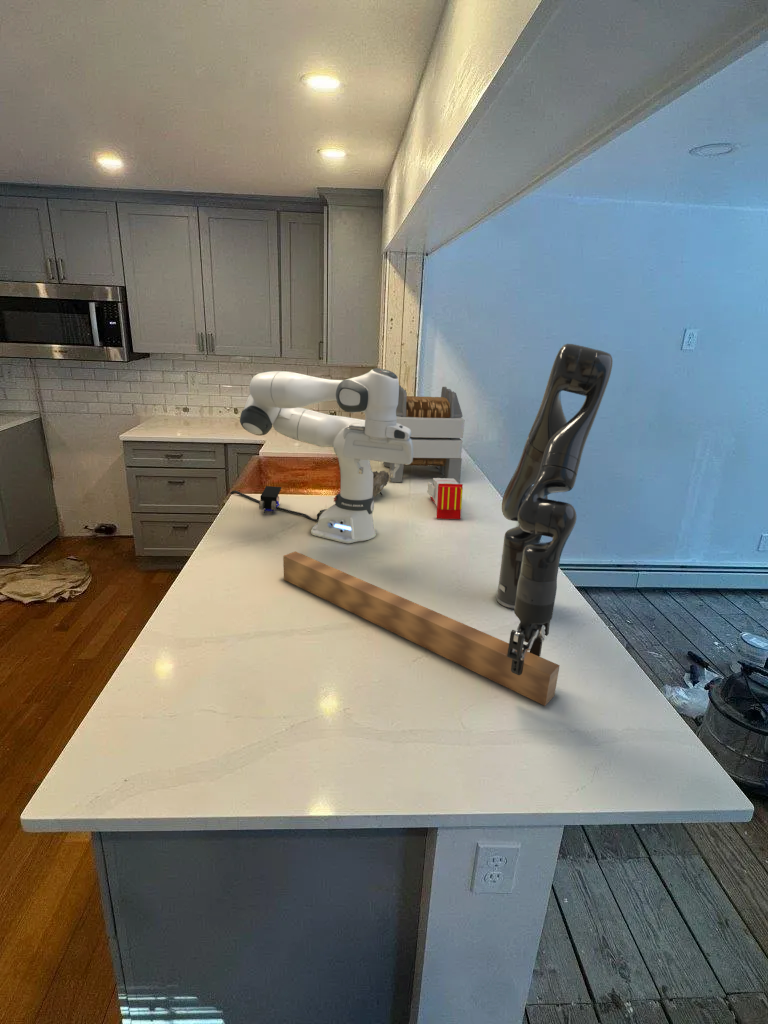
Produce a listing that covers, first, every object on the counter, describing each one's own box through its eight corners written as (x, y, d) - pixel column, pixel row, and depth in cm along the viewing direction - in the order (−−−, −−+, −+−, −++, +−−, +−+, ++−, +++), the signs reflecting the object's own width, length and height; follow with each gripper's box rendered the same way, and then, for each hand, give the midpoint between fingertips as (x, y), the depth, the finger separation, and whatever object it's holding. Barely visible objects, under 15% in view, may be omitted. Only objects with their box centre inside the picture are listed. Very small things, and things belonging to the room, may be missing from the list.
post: (283, 579, 163) (283, 555, 161) (295, 574, 166) (295, 551, 164) (545, 706, 115) (550, 675, 113) (554, 695, 119) (559, 665, 116)
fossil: (358, 476, 249) (385, 458, 244) (371, 493, 252) (398, 475, 247) (350, 497, 229) (380, 477, 224) (365, 515, 232) (394, 496, 227)
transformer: (382, 463, 289) (386, 382, 275) (445, 464, 293) (451, 384, 279) (390, 482, 257) (394, 392, 243) (460, 483, 261) (468, 394, 247)
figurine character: (276, 519, 211) (282, 502, 225) (275, 501, 208) (281, 484, 221) (258, 519, 211) (265, 501, 225) (257, 500, 208) (264, 484, 221)
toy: (455, 474, 240) (467, 485, 211) (453, 505, 243) (464, 520, 214) (426, 473, 240) (434, 484, 211) (425, 504, 243) (432, 519, 213)
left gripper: (341, 426, 158) (338, 474, 163) (414, 434, 156) (409, 482, 161) (346, 422, 164) (343, 468, 169) (416, 430, 162) (411, 476, 167)
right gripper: (537, 614, 106) (526, 687, 111) (567, 589, 116) (556, 657, 122) (501, 601, 110) (493, 671, 116) (534, 578, 121) (524, 644, 126)
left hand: (376, 475), depth 165 cm, fingers open, 8 cm apart
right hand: (525, 664), depth 119 cm, fingers open, 8 cm apart
